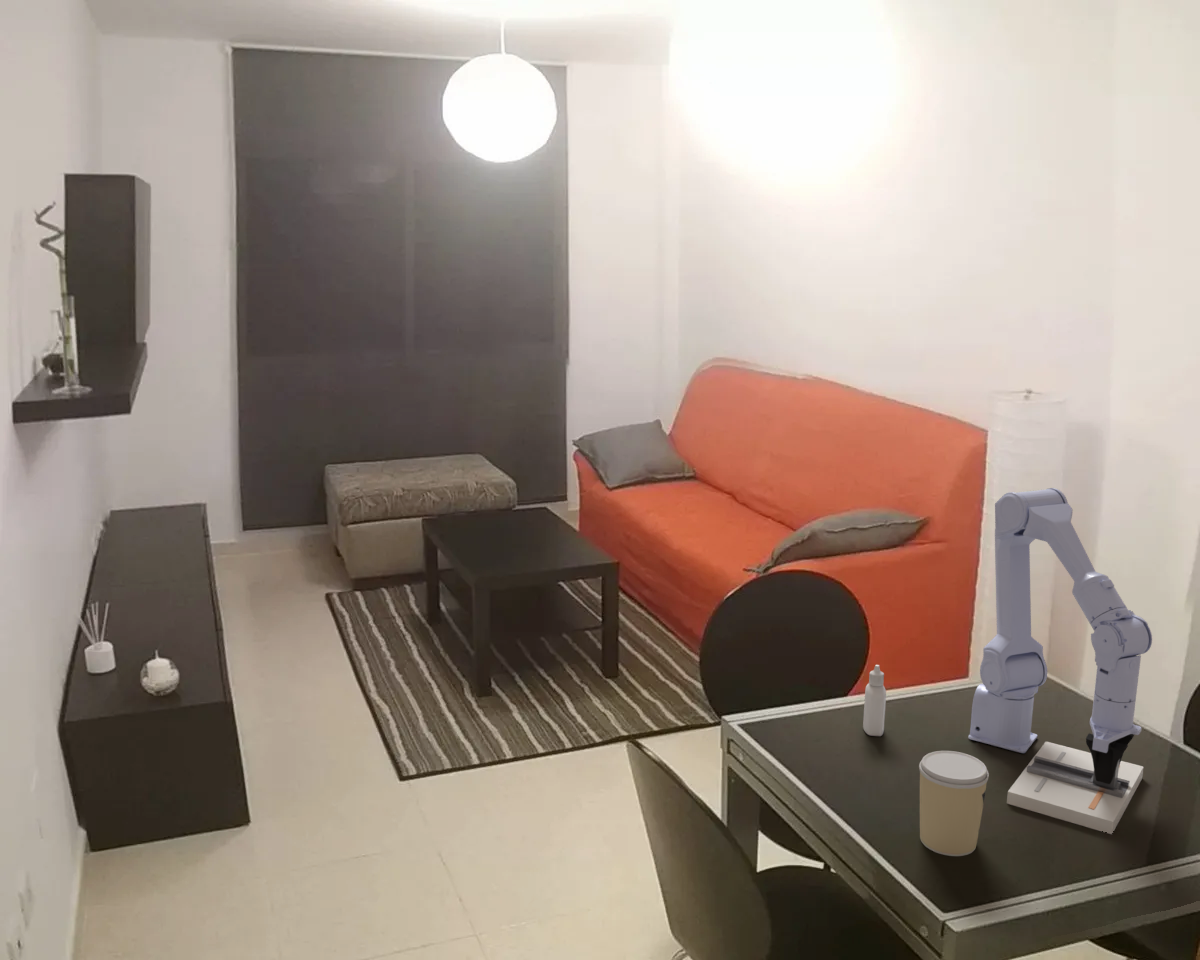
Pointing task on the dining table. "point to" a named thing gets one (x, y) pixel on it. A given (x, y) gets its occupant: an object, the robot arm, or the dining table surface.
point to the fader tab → (1113, 784)
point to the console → (1073, 788)
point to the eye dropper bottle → (874, 703)
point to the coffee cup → (951, 801)
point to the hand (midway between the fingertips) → (1105, 777)
